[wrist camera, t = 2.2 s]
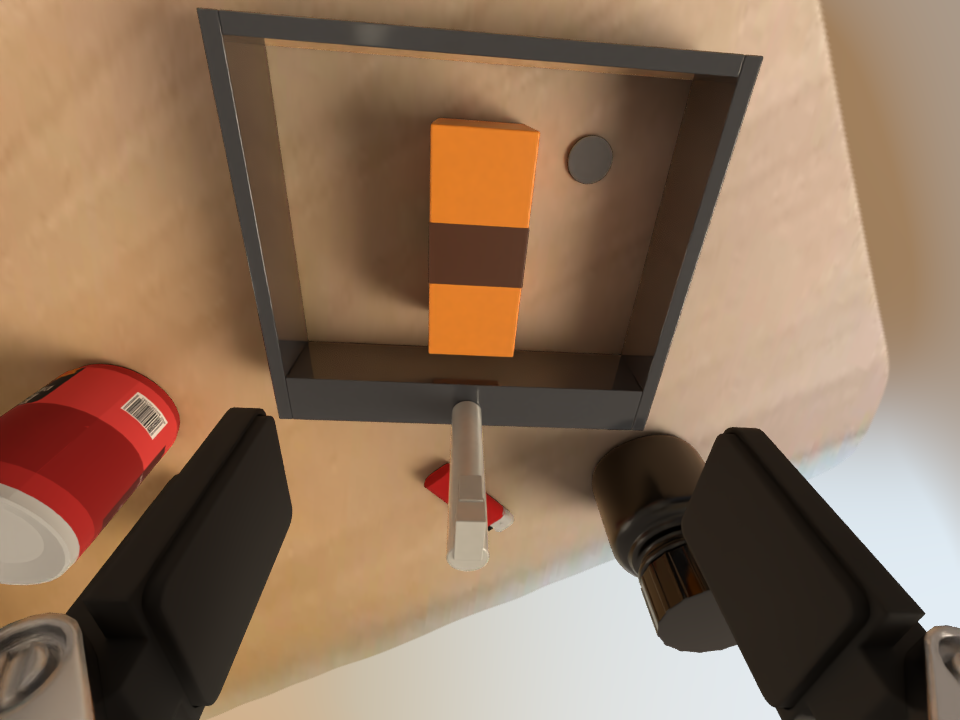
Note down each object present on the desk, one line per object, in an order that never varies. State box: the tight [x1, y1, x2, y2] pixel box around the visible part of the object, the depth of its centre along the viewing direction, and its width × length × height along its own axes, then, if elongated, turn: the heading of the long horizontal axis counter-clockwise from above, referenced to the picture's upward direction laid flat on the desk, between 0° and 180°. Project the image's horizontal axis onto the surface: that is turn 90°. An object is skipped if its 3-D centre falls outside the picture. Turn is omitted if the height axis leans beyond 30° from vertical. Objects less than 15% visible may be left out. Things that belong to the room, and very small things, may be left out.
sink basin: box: [197, 8, 763, 571], centre depth 20 cm, size 20×23×15 cm
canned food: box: [0, 364, 180, 585], centre depth 27 cm, size 8×8×11 cm
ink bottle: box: [592, 435, 737, 653], centre depth 31 cm, size 10×9×12 cm
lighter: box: [424, 463, 514, 532], centre depth 37 cm, size 3×1×8 cm
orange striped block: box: [428, 118, 540, 357], centre depth 24 cm, size 11×5×5 cm, turn 176°
